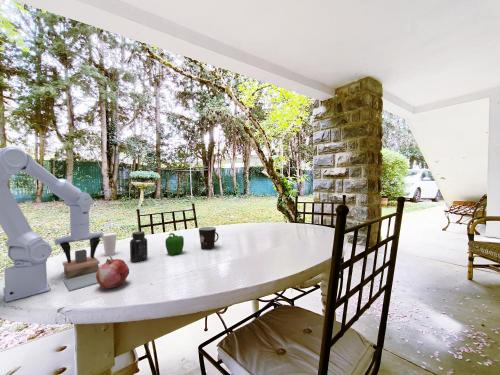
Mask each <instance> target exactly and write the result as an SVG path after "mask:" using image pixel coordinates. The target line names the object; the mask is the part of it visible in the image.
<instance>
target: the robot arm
mask: <svg viewBox="0 0 500 375" xmlns="http://www.w3.org/2000/svg"><path fill="white" fill-rule="evenodd" d="M17 172H19V173H24V174H26V175H28V176H30V177H32V178H34V179H36V180H37V181H40V182H41V183H43V184H45V185H46V186H48V189H49V192H50V193H52V194H53V195H55V196H56V197H58V198H60V199H62V200H63V201H64V203H65V205H66V206H67V207H69V218H70V220H69V223H70V224H69V225H70V226H69V227H70V229H69V230H70V235H69V236H63V237H59V238H55V239H54V245H55V246H58V245H59V246H60V247H61V250H63V253H64V255H65V257H66V261H67V262H68V263H71V260H72V258H71V257H72V256H71V244H70V243H76V242H81V241H87V240H89V247H90V249H89V251H90V253H89V254H90V256H89V257H91V258H94V257H95V254H96V250H97V248H98V246H99V244H100V242H101V239H103V234H104V232H103V231H100V232H92V233H91V232H90V210H91V206H92V204H93V201H94V199H93V198H92V197H91V195H90V193H88V192H86V191H82V189H81V188H79V187H76V185H74V184H72V183H71V180H69V179H64V178H57V177H56V176H55V175H53V174H52V173H51V172H50V171H49V170H48V169H46V168H45V167H44V166H42V165H40V164H39V163H38V162H37V161H36V160H35V159H34V158H33V156H32V155H31V154H29V153H26V152H25V151H24V150H23V149H22V148H19V147H17V146H6V147H0V227H1V229H2V230H3V232H4V234H5V235H6V237H7V238H8V239H7V240H6V242H5V246H6V247H7V257H8V259H10V260H12V261H13V265H12V266H8V267H5V268H4V270H3V272H4V273H3V274H4V287H3V288H2V290H3V291H2V292H3V295H4V299H5V301H4V302H5V303H6V302H7V303H8V302H11V301H16V300H20V299H23V298H27V297H29V296H34V295H38V294H42V293H45V292H49V291H50V290H51V289H50V288H51V287H50V285H49V283H48V278H47V274H48V273H47V262H48V259H49V257H50V256H51V255H52V250H53V249H52V245H51V244H50V243H49V242H47V241H45V239H43V237H42V236H41V235H39V234H38V233H36V232H35V231H34V230H33V228H32V227H31V225H30V223H29V222H28V219H27V218H26V216H25V214H24V213H23V211H22V209H21V207H20V205H19V203H18V202H17V200H16V198H15V196H14V194H13V193H12V191H11V189H10V187H9V186H8V182H9V180H10V179H11V178H12V176H14V175H15V174H17Z"/></svg>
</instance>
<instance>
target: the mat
mask: <svg viewBox="0 0 500 375" xmlns="http://www.w3.org/2000/svg"><path fill="white" fill-rule="evenodd" d="M96 274H97V272H95V273H91V274H87V275H83V276H79V277H75V278H70V279H68V278H67V279H64V280H63V284H64V285H65V287H66V288H67V290H68V291H69V292H72V291H76V290H79V289H83V288H87V287H91V286H94V285H97V284H98V285H99V283H98V281H97V279H96Z"/></svg>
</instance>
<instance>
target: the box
mask: <svg viewBox="0 0 500 375" xmlns="http://www.w3.org/2000/svg"><path fill="white" fill-rule="evenodd" d="M99 268H100V266H99V264H96V265H92V266H88V267H83V268H79V269H75V270H70V271H67V270H66V269H65V267H64V266H63V273H64V275H65V276H66V278H67V279H70V278H75V277H79V276H83V275H87V274H91V273H95V272H97V271H98V269H99Z"/></svg>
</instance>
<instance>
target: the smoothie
mask: <svg viewBox="0 0 500 375" xmlns="http://www.w3.org/2000/svg"><path fill="white" fill-rule="evenodd" d="M117 236H118V233H117V232H112V225H111V224H109V232H107V233H103V238H102V243H103V250H104V256H106V257H108V256H109V257H110V256H111V257H112V256H114V255H115V252H116V247H117V246H116V244H117Z"/></svg>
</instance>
